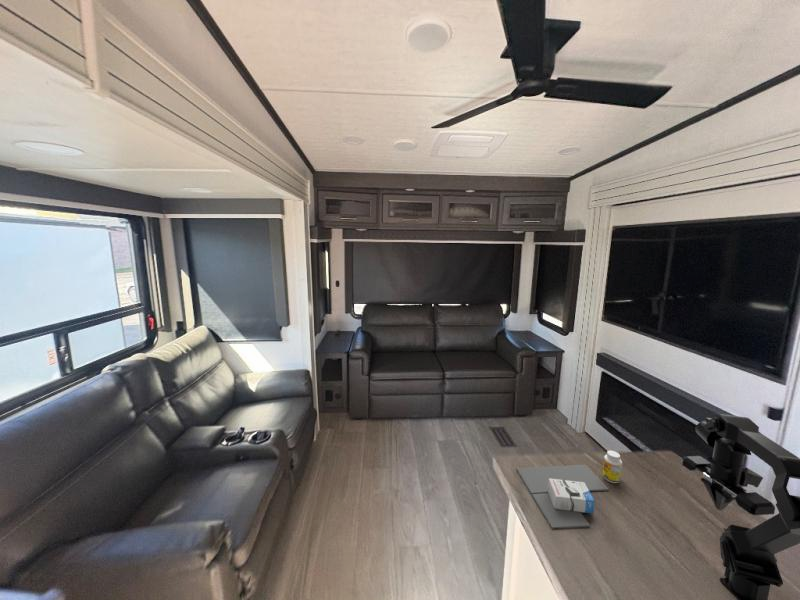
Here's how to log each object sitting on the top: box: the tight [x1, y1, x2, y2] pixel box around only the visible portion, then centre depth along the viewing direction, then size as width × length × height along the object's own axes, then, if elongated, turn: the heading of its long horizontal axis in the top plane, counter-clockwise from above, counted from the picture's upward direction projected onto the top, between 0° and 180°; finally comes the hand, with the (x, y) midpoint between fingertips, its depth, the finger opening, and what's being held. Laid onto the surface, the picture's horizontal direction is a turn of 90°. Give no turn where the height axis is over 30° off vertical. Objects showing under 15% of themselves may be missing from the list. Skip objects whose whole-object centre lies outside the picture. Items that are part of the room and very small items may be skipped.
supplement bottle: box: [602, 450, 623, 484], centre depth 113 cm, size 6×6×10 cm
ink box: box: [548, 478, 595, 514], centre depth 103 cm, size 8×5×12 cm
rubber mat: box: [516, 464, 610, 530], centre depth 107 cm, size 26×28×1 cm
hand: (719, 509), depth 86 cm, fingers closed
